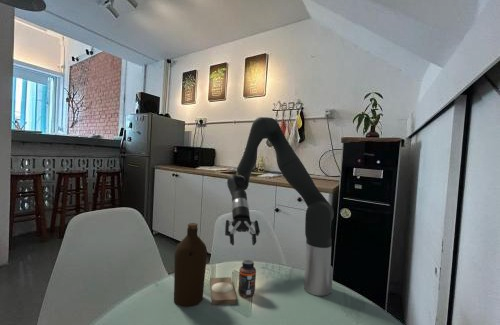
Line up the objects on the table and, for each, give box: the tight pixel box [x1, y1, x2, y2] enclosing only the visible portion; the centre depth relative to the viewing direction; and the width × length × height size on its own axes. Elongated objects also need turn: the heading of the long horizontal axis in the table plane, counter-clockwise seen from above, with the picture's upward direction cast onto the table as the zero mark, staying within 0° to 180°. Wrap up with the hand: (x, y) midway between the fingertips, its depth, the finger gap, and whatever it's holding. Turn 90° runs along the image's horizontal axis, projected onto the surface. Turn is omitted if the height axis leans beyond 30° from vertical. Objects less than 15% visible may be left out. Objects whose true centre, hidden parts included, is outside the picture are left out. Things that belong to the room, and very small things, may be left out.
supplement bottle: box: [237, 259, 257, 298], centre depth 87 cm, size 6×6×11 cm
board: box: [209, 276, 238, 306], centre depth 87 cm, size 8×16×2 cm, turn 11°
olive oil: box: [173, 222, 208, 308], centre depth 81 cm, size 11×11×25 cm
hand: (243, 244), depth 97 cm, fingers open, 8 cm apart
